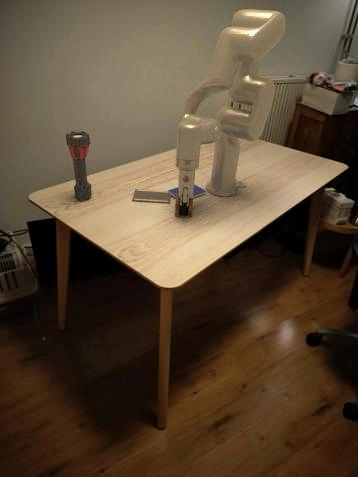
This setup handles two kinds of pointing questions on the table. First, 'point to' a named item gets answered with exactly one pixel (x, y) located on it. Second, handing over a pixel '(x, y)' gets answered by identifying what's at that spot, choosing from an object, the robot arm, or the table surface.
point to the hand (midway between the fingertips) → (183, 209)
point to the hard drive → (197, 192)
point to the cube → (179, 203)
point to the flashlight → (79, 162)
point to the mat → (151, 196)
